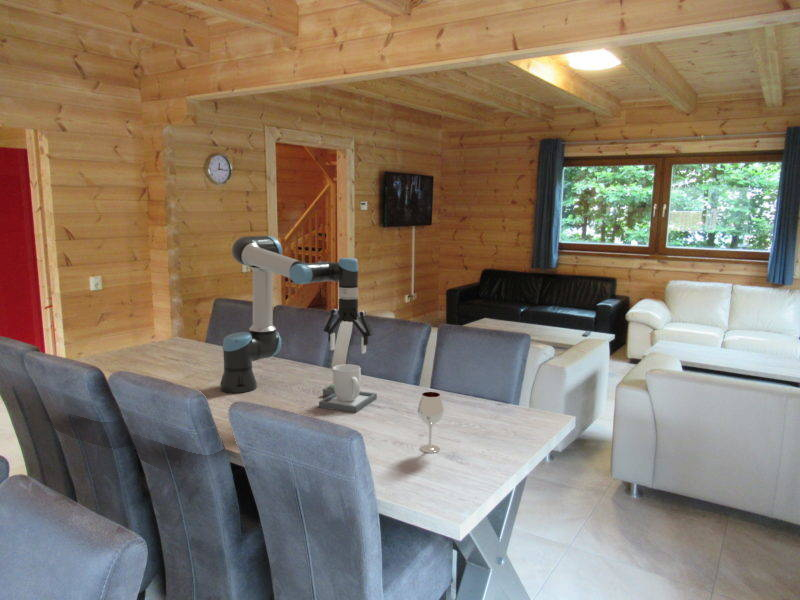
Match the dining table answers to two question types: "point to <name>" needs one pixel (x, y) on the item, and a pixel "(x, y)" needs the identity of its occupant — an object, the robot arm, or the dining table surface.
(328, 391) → the grey square frame
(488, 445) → the dining table surface
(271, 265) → the robot arm
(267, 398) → the dining table surface
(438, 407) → the wineglass
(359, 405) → the tray
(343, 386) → the mug
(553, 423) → the dining table surface
